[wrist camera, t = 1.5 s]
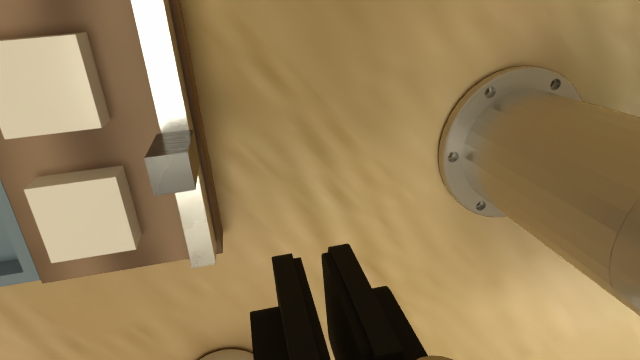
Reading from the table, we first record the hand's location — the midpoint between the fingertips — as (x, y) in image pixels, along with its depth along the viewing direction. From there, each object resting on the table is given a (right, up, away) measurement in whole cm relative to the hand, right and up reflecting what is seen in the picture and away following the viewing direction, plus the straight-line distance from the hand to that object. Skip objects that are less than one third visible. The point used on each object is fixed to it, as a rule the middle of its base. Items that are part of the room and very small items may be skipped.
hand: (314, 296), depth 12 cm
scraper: (-8, +6, +15) cm, 18 cm away
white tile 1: (-15, +9, +13) cm, 22 cm away
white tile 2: (-15, +1, +16) cm, 22 cm away
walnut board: (-14, +6, +18) cm, 23 cm away
